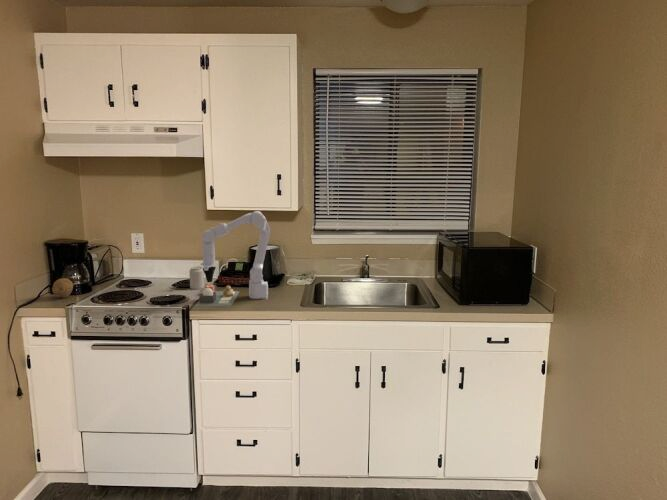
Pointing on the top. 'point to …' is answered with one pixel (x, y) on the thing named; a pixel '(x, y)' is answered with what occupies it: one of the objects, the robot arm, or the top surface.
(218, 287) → the top surface
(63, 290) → the natural sponge
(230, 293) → the pawn
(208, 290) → the dome
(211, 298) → the board
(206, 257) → the robot arm
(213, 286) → the die
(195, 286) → the can
